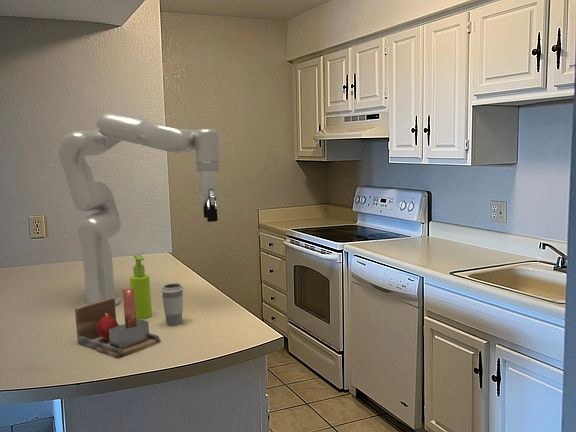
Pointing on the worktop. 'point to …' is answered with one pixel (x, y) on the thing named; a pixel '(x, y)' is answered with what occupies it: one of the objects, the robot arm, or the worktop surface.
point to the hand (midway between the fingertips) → (210, 219)
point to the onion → (106, 325)
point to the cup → (173, 303)
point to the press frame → (88, 330)
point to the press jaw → (129, 325)
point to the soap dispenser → (141, 290)
